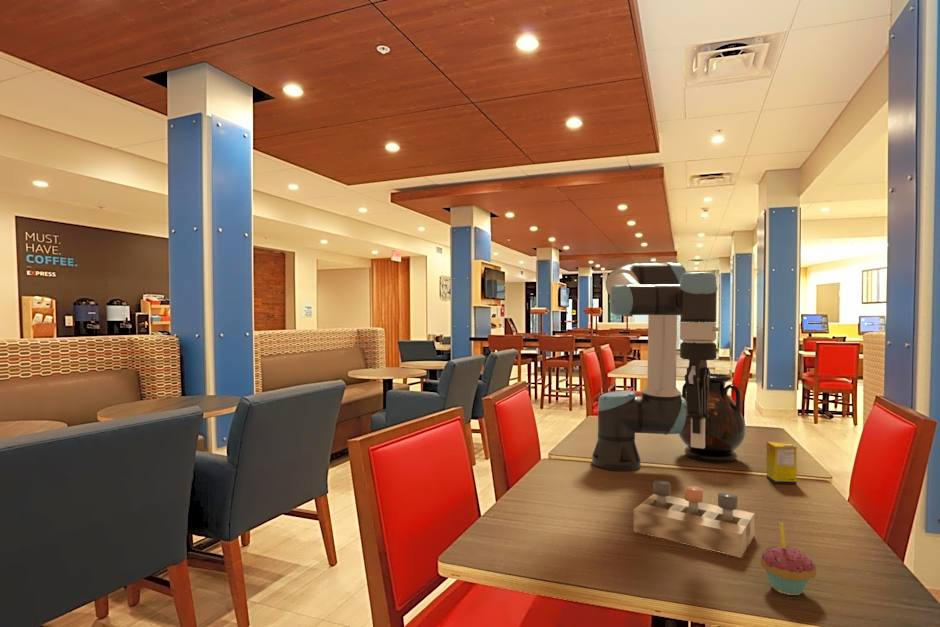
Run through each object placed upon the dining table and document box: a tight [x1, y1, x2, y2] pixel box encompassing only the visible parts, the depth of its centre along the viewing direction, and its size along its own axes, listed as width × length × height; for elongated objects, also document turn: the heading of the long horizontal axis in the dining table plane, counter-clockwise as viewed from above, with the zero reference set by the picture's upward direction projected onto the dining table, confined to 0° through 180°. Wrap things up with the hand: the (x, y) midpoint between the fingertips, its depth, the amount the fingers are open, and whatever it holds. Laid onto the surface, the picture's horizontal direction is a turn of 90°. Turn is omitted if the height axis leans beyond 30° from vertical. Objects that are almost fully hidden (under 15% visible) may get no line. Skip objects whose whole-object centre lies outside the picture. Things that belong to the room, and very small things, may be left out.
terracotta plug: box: [683, 485, 704, 513], centre depth 121 cm, size 4×4×5 cm
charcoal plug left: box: [652, 480, 672, 506], centre depth 125 cm, size 4×4×5 cm
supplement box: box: [766, 441, 798, 485], centre depth 158 cm, size 6×6×11 cm
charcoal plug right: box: [717, 492, 739, 521], centre depth 116 cm, size 4×4×5 cm
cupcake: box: [760, 517, 817, 594], centre depth 96 cm, size 9×8×12 cm
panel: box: [633, 493, 755, 556], centre depth 121 cm, size 22×14×5 cm, turn 53°
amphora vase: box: [677, 372, 747, 463], centre depth 184 cm, size 22×22×28 cm
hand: (697, 447), depth 121 cm, fingers closed
